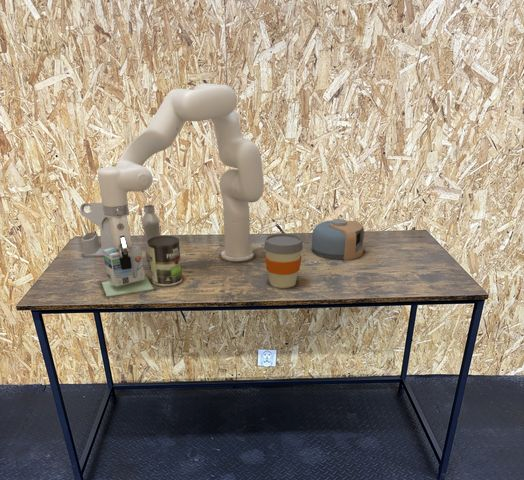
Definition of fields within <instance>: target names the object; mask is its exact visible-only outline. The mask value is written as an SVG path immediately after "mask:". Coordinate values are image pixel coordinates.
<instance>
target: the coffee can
mask: <svg viewBox="0 0 524 480" xmlns="http://www.w3.org/2000/svg"><path fill="white" fill-rule="evenodd" d="M147 243H148V248H149V256H150V261H149V264H150V274H151V282H152V284H153V285H155V286H159V287H172V286H176V285H178V284H180V283H182V281H183V273H182V261H181V250H180V238H178V237H177V236H172V235H159V236H157V237H153V238H150V239H149V240H148V241H147Z"/></svg>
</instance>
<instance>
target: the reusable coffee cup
mask: <svg viewBox="0 0 524 480" xmlns="http://www.w3.org/2000/svg"><path fill="white" fill-rule="evenodd" d="M303 245H304V244H303V238H302V237H301V236H299V235H297V234H291V233H276V234H270V235H268V236H266V237H265V238H264V246H263V247H264V250H265V255H264V258H265V267H266V271H267V274H268V282H269V285H270V286H272V287H274V288H278V289H279V288H280V289H288V288H292V287H294V286H296V284H297V278H298V274H299V273H298V272H299V271H300V268H301V262H302V258H303V257H302V251H303V247H304V246H303Z"/></svg>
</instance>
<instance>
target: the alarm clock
mask: <svg viewBox="0 0 524 480" xmlns="http://www.w3.org/2000/svg"><path fill="white" fill-rule="evenodd" d="M311 235H312V236H311V248H312V249H313V251H314V253H315V254H316V255H318V256H320V257H323V258H327V259H335V260H337V259H338V260H342V259H343V260H344V261H350V260H355V259H358V258H360V257H361V256H363V254H364V250H365V249H364V247H363V245H364V235H365V228H364V226H363V224H362V223H360V222H359V221H357V220H346V219H343V218H334V219H332V220H326V221H325V220H324V221H322V222H320V223H318V224H316V225H315V226H314V228H313V230H312V234H311Z"/></svg>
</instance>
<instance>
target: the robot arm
mask: <svg viewBox="0 0 524 480" xmlns="http://www.w3.org/2000/svg"><path fill="white" fill-rule="evenodd" d="M237 104H238V98H237V93H236V91H235V90H234V89H233V88H232V87H231V86H229V85H226V84H219V83H200V84H198V85H196V86H195V87H194V88H193V89H191V88H173V89H171V90H170V91H169V92H168V93H167V95H165V97H164V99H163V101H162V103H161V104H160V105H159V108H158V109H157V111H156V112H155V114H154V116H153V118H152V119H151V121H150V122H149V124H148V125H147V127H146V128H145V129H144V130H143V131H142V132H141V133H140V134H139V135H137V136H136V137H135V138H134V139H133V140H132V141H131V142H130V143H129V144H128V145H127V146H126V148H125V149H124V151H123V152H122V154H121V156H120V157H119V158H118V160H117V163H116V164H115V166H104V167H101V168H99V169H98V170H97V181H98V185H99V193H100V197H101V203H102V204H103V211H104V216H105V217H107V218H109V224H110V230H111V235H112V239H113V243H114V245H115V247H116V248H117V249H118V250H119V253H120V264H121V269H122V270H125V269H131V268H132V266H131V259H130V255H129V250H128V247H130V248H132V243H133V242H132V238H131V237H132V236H131V231H130V225H129V220H128V217H129V216H130V208H129V200H128V194H127V192H129V193H131V192H133V193H134V192H136V193H137V192H144V191H146V190H148V189H150V188H151V186H152V184H153V181H154V177H153V174H152V172H151V170H150V169H148V168H147V167H145V166H144V164H145V163H146V162H147V161H148V160H149V159H150V158H151V157H152V156H154V155H155V154H158V153H161V152H162V151H165V150H167V149H168V148H171V146H172V145H173V144H174V142H175V141H176V139H177V137H178V135H179V133H180V132H181V131H182V129H183V127H184V125H185V124H186V122H187V121H188V122H203V121H209V120H211V122H212V124H213V126H214V127H213V128H214V131H215V138H216V144H217V150H218V156H219V160H220V162H221V163H222V164H223V165H225V166H226V167H230V168H231V169H227V170H225V171H224V172H223V173H222V174H221V176H220V179H219V189H220V196H221V199H222V210H223V212H222V213H223V233H224V234H223V235H224V236H223V237H224V250H222V251H221V252H220V257H221V258H222V259H223V260H224V261H228V262H246V261H249V260H251V259H253V258H254V257H255V251H256V250H257V251H259V250H262V249H263V245H262V244H261V243H260V244H257V243H251V239H250V238H251V231H250V230H251V229H250V220H251V219H250V213H251V212H250V204H249V203H256V202H258V201H259V200H261V198H262V197H263V194H264V187H265V182H264V181H265V180H264V171H263V170H264V169H263V163H262V154H261V152H260V151H261V150H260V148H259V147H258V145H257V144H256V143H255V142H253V141H252V140H250V139H247V138H246V139H245V138H243V135H242V129H241V122H240V118H239V115H238V113H237V111H236V107H237ZM127 245H128V246H127ZM120 246H122V247H121V248H120ZM121 250H123V251H122V252H121Z"/></svg>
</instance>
